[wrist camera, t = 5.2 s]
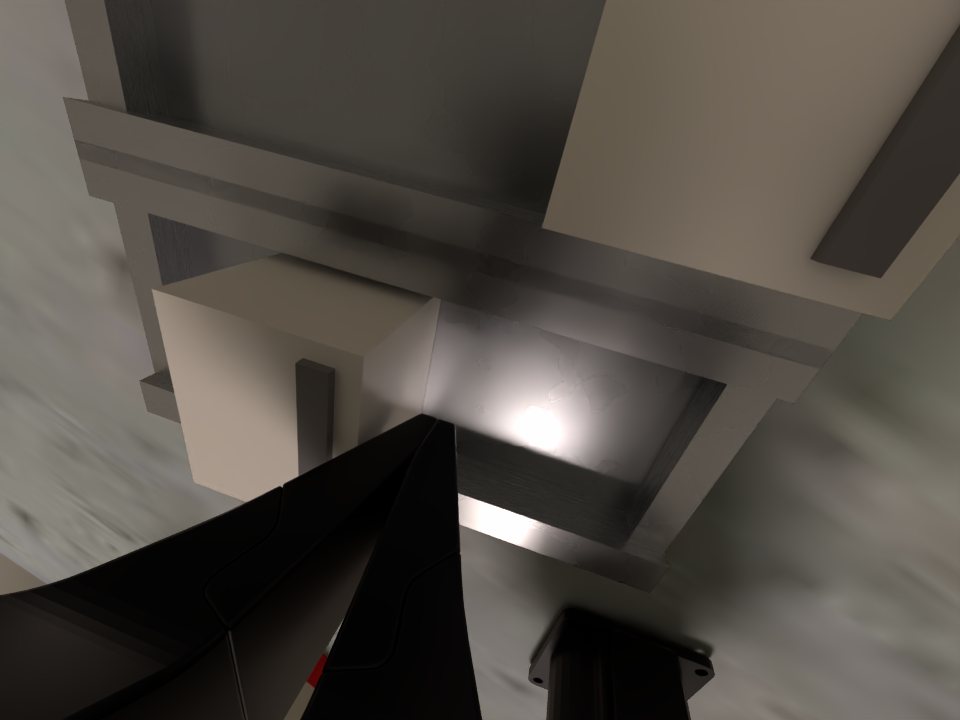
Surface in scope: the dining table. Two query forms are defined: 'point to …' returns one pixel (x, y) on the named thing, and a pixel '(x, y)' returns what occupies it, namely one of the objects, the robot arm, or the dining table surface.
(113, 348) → the dining table surface
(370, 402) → the block
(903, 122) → the block
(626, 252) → the panel
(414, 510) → the robot arm
